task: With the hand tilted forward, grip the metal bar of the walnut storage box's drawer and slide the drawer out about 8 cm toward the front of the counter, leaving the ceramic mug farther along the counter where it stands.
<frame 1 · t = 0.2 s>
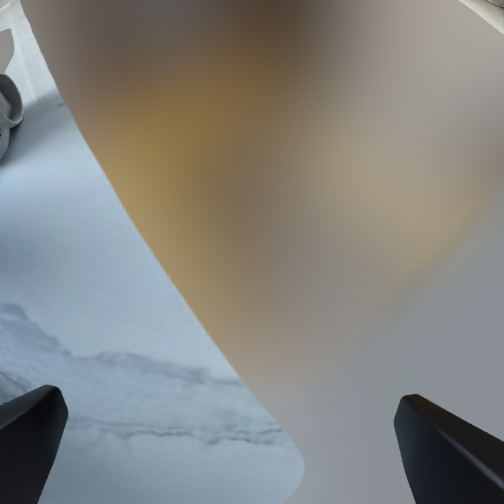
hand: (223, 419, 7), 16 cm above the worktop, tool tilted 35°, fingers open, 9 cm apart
ceramic mug: (2, 135, 31), on the worktop
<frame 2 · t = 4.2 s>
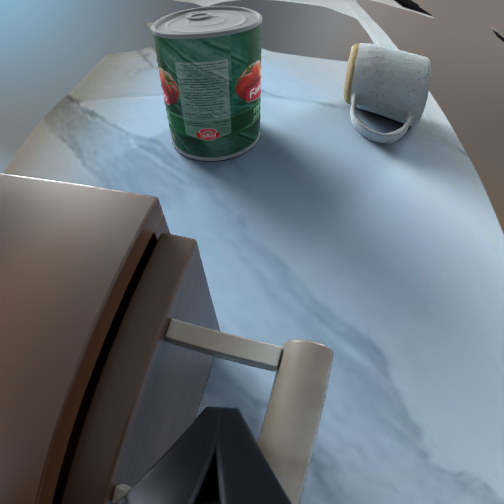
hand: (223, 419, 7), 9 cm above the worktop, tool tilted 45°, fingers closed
storage box: (70, 376, 16), on the worktop
ceramic mug: (380, 118, 30), on the worktop
drawer: (84, 385, 11), point 5 cm above the worktop, slide at 0.1 cm, touching gripper
canned tomato: (215, 134, 28), on the worktop
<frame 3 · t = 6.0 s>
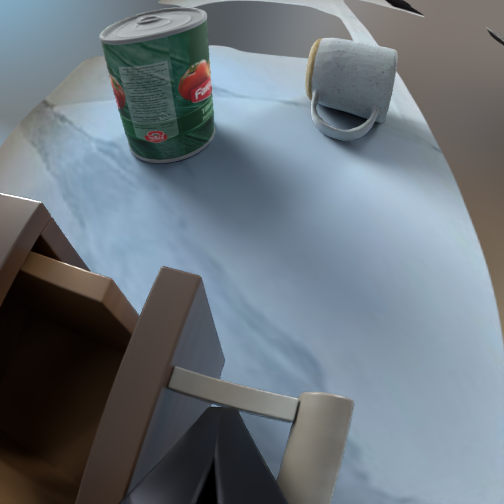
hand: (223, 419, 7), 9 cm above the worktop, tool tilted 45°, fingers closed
storage box: (17, 369, 15), on the worktop
ceramic mug: (346, 115, 29), on the worktop
drawer: (80, 419, 10), point 5 cm above the worktop, slide at 4.5 cm, touching gripper
canned tomato: (171, 136, 27), on the worktop
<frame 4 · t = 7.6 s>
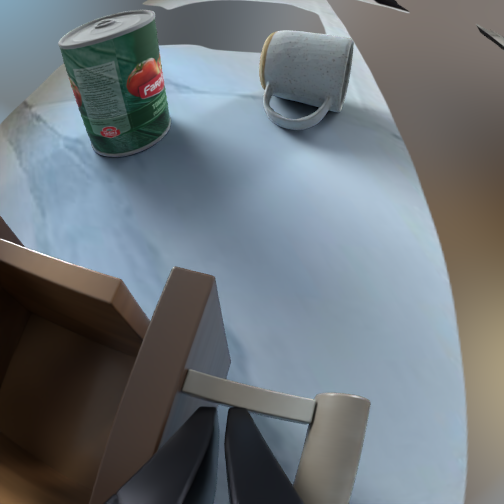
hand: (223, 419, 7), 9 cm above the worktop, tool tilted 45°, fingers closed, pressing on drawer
ceramic mug: (303, 106, 30), on the worktop
drawer: (86, 423, 10), point 5 cm above the worktop, slide at 9.1 cm, touching gripper
canned tomato: (130, 132, 28), on the worktop
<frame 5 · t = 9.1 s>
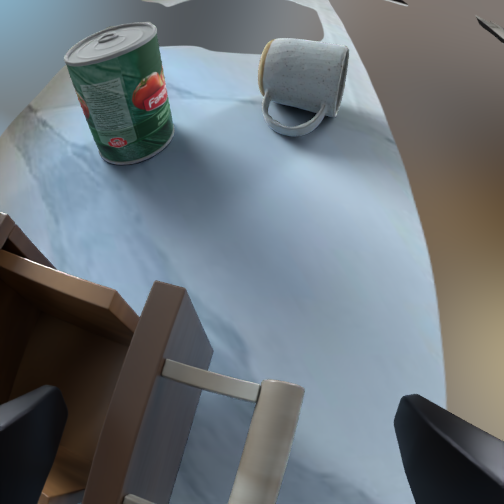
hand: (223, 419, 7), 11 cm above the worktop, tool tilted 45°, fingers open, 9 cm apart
storage box: (3, 346, 18), on the worktop
ceramic mug: (301, 111, 32), on the worktop
drawer: (91, 403, 12), point 5 cm above the worktop, slide at 7.8 cm
canned tomato: (136, 139, 29), on the worktop
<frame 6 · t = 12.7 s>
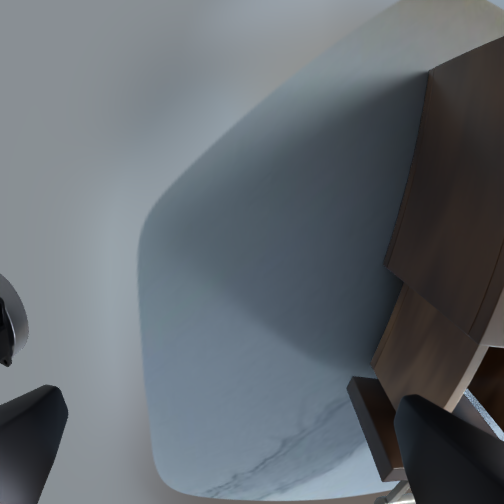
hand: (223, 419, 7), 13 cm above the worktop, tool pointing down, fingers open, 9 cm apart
storage box: (475, 191, 18), on the worktop
drawer: (454, 383, 16), point 5 cm above the worktop, slide at 7.8 cm
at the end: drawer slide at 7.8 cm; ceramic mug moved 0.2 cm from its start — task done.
